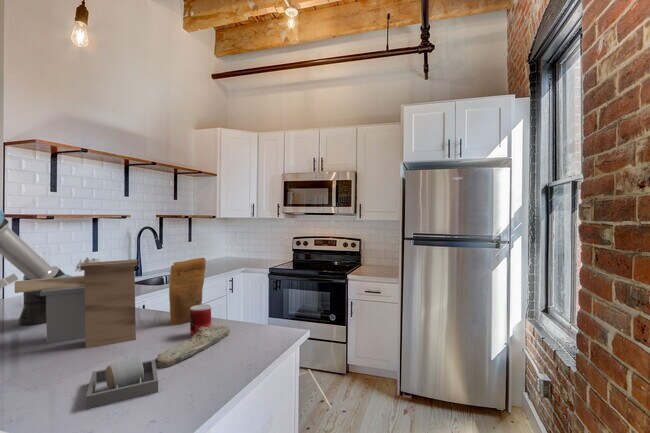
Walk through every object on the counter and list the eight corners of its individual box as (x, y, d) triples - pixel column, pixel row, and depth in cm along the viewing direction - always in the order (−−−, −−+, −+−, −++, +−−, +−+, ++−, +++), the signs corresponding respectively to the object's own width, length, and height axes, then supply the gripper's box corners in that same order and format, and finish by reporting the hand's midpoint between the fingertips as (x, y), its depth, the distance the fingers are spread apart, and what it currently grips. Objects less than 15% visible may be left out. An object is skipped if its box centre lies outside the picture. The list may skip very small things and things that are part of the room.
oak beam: (18, 290, 132) (18, 277, 132) (110, 282, 147) (110, 270, 147) (13, 293, 127) (13, 280, 127) (109, 284, 141) (109, 272, 141)
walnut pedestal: (85, 340, 134) (84, 262, 134) (138, 331, 142) (137, 259, 142) (82, 349, 124) (80, 266, 124) (138, 339, 133) (137, 262, 133)
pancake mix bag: (211, 317, 162) (209, 257, 162) (172, 328, 146) (171, 262, 146) (202, 314, 166) (201, 256, 166) (164, 325, 150) (162, 261, 150)
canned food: (215, 332, 140) (214, 305, 140) (202, 338, 133) (201, 310, 133) (200, 330, 143) (199, 303, 143) (186, 336, 135) (185, 308, 135)
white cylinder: (104, 388, 95) (103, 360, 95) (136, 377, 101) (136, 351, 101) (114, 402, 88) (114, 372, 87) (149, 390, 93) (148, 362, 93)
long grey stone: (145, 371, 109) (170, 377, 106) (145, 354, 109) (170, 360, 105) (215, 330, 142) (236, 333, 139) (215, 317, 142) (236, 320, 138)
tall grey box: (47, 337, 138) (46, 287, 138) (106, 328, 147) (105, 281, 147) (41, 345, 129) (40, 291, 129) (104, 335, 139) (103, 285, 139)
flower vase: (82, 307, 186) (81, 260, 186) (71, 302, 197) (71, 258, 197) (109, 302, 196) (108, 258, 196) (97, 297, 207) (97, 256, 207)
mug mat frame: (92, 382, 99) (92, 371, 99) (155, 369, 106) (154, 359, 106) (86, 409, 85) (85, 396, 85) (158, 391, 92) (158, 380, 92)
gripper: (-35, 314, 131) (26, 281, 140) (-68, 333, 110) (8, 292, 119) (-50, 299, 130) (14, 266, 139) (-86, 314, 108) (-7, 275, 117)
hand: (11, 278), depth 129 cm, fingers open, 13 cm apart
